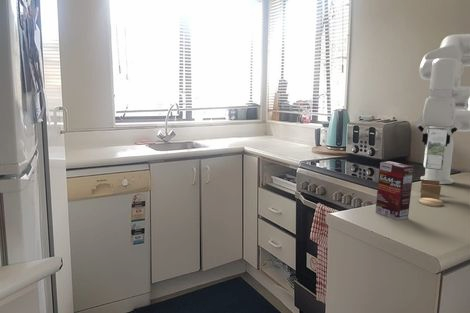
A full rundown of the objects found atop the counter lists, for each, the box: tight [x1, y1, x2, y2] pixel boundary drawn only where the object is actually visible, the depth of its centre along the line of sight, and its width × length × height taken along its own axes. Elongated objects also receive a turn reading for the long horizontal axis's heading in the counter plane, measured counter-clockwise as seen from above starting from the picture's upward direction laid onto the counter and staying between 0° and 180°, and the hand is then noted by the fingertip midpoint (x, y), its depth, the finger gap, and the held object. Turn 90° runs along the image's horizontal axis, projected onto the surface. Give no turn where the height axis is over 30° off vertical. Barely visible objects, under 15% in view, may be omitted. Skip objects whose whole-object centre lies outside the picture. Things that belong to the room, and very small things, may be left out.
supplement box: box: [375, 160, 415, 221], centre depth 116 cm, size 9×5×16 cm, turn 29°
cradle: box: [420, 179, 442, 200], centre depth 142 cm, size 10×6×5 cm, turn 155°
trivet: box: [418, 197, 443, 207], centre depth 132 cm, size 7×7×1 cm
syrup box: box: [423, 128, 447, 170], centre depth 140 cm, size 6×6×14 cm
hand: (435, 144), depth 139 cm, fingers closed on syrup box, 6 cm apart
